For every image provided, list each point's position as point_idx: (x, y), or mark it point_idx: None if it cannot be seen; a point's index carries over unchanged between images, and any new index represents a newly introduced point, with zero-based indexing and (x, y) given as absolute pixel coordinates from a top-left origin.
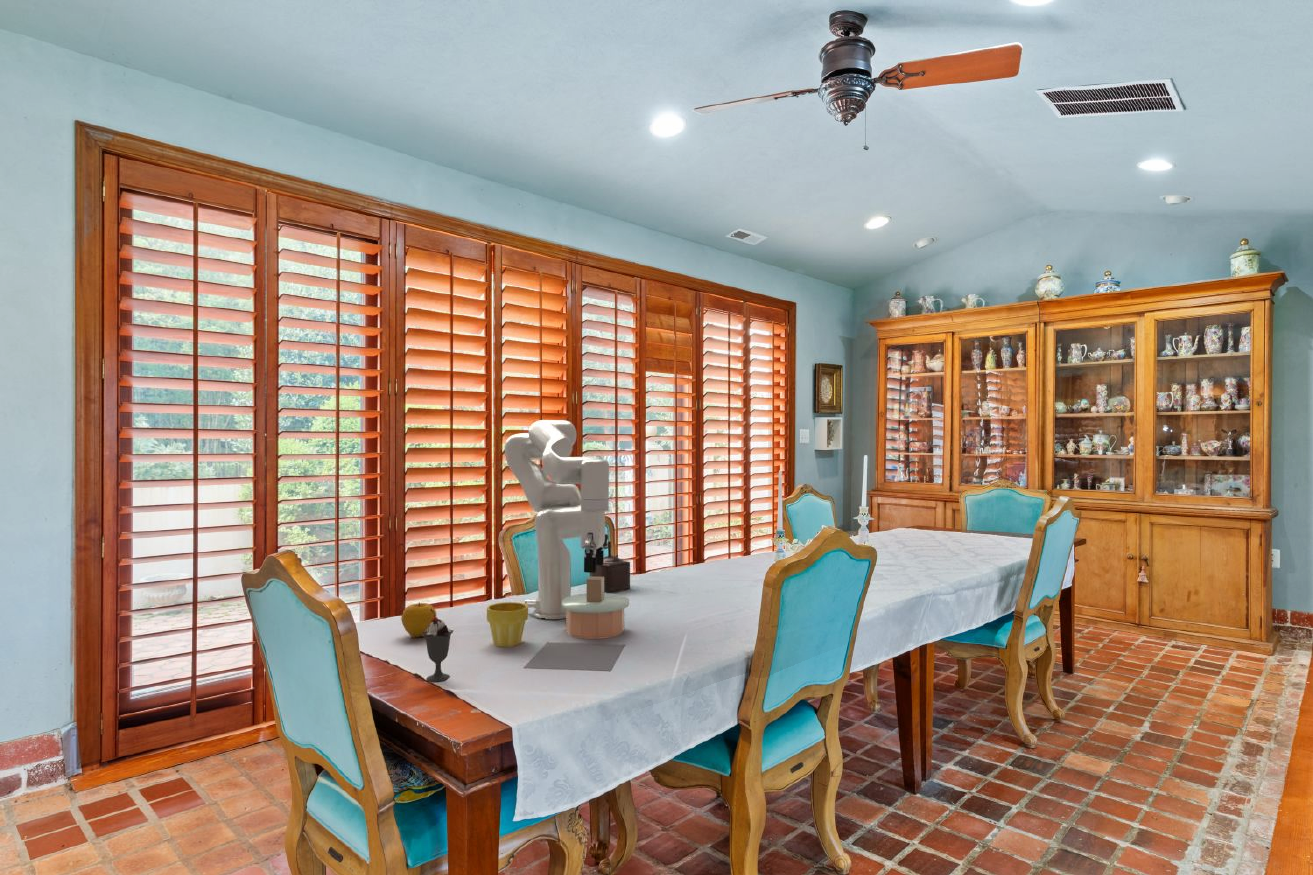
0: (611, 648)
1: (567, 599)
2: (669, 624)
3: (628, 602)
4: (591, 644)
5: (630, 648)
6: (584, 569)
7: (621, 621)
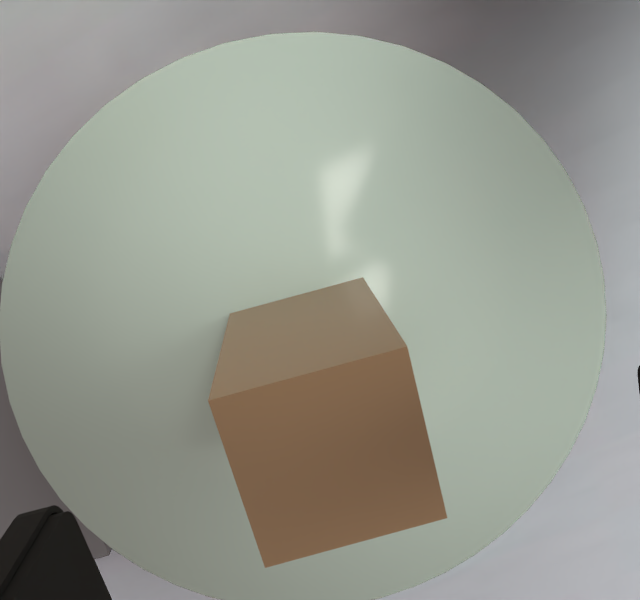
0: None
1: (249, 89)
2: (585, 572)
3: (373, 591)
4: None
5: (104, 576)
6: (6, 544)
7: None
